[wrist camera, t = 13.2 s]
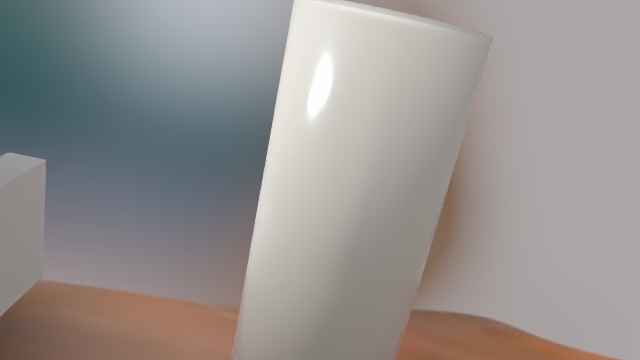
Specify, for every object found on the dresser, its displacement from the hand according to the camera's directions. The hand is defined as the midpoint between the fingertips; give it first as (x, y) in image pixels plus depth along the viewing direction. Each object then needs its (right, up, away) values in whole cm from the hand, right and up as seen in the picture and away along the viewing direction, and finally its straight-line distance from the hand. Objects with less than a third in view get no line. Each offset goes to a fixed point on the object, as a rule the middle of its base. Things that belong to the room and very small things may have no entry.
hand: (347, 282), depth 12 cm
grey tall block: (-2, -8, +8) cm, 12 cm away
